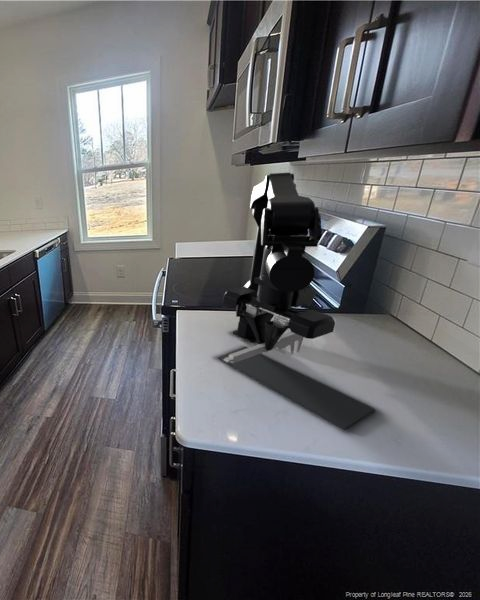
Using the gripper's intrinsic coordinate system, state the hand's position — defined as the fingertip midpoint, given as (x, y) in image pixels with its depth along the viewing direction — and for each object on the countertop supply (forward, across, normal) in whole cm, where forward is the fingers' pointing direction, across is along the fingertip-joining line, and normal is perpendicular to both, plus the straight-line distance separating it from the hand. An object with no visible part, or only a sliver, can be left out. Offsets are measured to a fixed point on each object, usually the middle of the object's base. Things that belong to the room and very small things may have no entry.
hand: (265, 348), depth 63 cm
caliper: (+2, 0, 0) cm, 2 cm away
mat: (+11, 0, -9) cm, 14 cm away
